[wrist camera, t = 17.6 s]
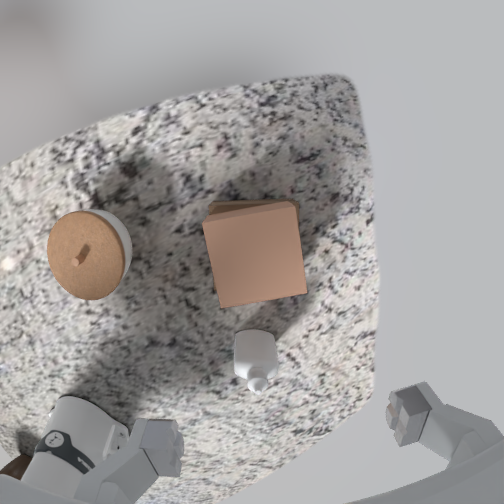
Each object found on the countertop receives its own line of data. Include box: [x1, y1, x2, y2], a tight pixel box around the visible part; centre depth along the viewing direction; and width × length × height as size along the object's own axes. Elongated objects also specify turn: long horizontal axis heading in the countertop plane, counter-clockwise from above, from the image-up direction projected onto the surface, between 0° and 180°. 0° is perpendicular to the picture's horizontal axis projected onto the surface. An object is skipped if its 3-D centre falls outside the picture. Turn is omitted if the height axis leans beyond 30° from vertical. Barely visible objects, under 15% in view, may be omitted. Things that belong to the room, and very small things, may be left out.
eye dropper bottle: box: [234, 329, 279, 395], centre depth 38 cm, size 4×6×12 cm
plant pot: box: [0, 454, 32, 481], centre depth 47 cm, size 15×15×16 cm
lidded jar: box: [47, 209, 132, 300], centre depth 35 cm, size 11×11×9 cm
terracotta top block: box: [202, 201, 307, 308], centre depth 33 cm, size 9×9×5 cm
